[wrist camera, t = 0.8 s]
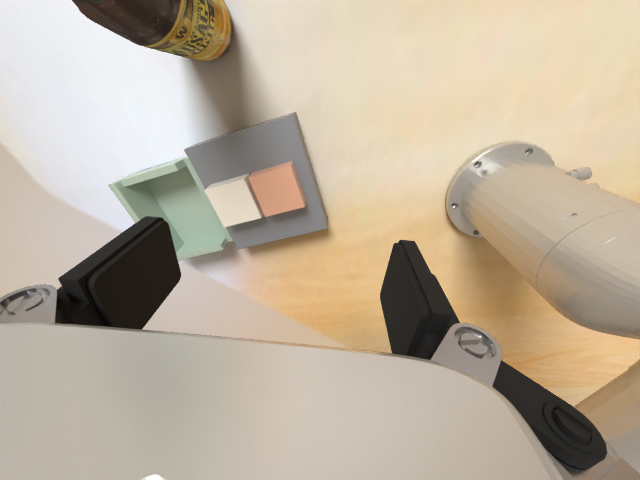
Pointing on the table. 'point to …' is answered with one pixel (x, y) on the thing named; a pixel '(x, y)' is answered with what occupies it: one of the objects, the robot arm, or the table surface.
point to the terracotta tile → (278, 189)
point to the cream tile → (234, 201)
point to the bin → (175, 206)
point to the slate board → (257, 154)
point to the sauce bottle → (167, 24)
